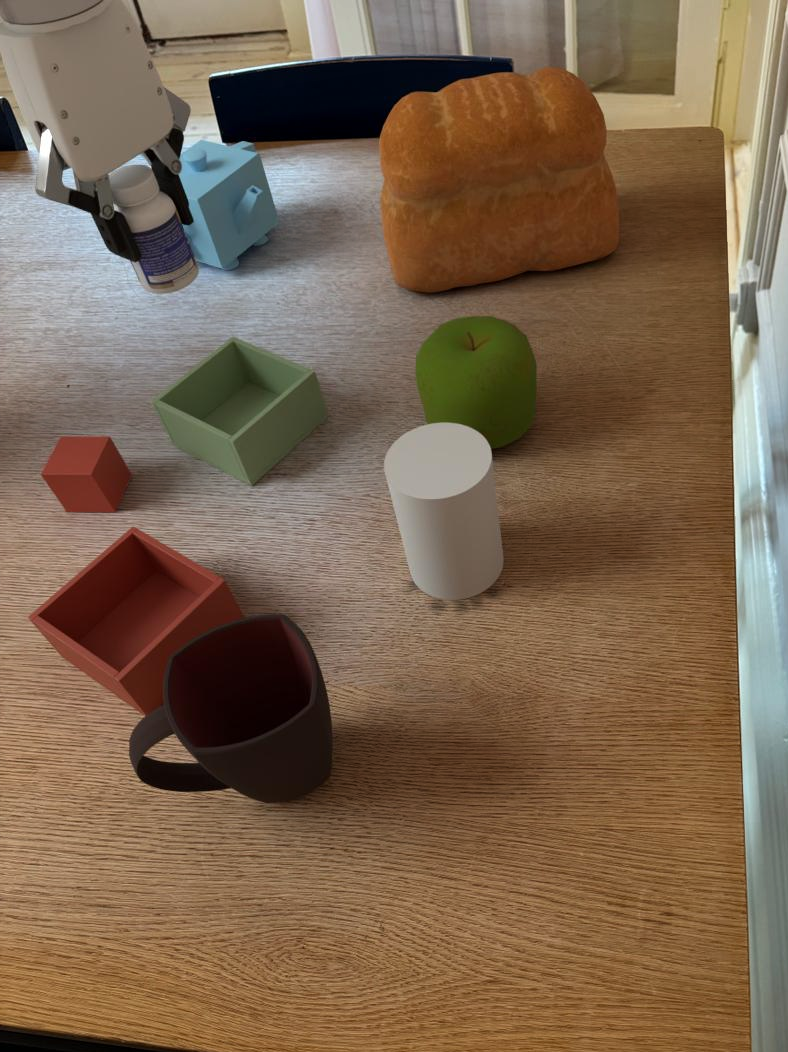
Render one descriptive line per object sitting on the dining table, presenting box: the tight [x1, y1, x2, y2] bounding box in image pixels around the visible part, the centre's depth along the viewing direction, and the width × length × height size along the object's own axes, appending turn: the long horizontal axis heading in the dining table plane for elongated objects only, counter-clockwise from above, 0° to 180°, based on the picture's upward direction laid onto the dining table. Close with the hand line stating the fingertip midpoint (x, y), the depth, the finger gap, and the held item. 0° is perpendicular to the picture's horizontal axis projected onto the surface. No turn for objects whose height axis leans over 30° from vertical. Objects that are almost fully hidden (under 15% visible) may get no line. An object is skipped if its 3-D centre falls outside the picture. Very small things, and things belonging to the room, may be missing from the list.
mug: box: [128, 613, 334, 804], centre depth 61 cm, size 10×14×12 cm
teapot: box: [139, 139, 280, 271], centre depth 104 cm, size 16×18×11 cm
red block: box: [40, 435, 133, 513], centre depth 83 cm, size 5×5×5 cm
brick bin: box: [27, 525, 246, 717], centre depth 72 cm, size 11×11×6 cm
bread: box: [378, 66, 620, 294], centre depth 95 cm, size 16×26×17 cm, turn 100°
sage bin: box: [150, 336, 329, 487], centre depth 86 cm, size 11×11×6 cm
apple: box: [415, 315, 538, 450], centre depth 81 cm, size 11×11×11 cm
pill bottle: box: [108, 164, 200, 295], centre depth 74 cm, size 5×5×9 cm
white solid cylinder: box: [383, 423, 505, 601], centre depth 71 cm, size 8×8×12 cm
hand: (153, 236), depth 74 cm, fingers closed on pill bottle, 5 cm apart
